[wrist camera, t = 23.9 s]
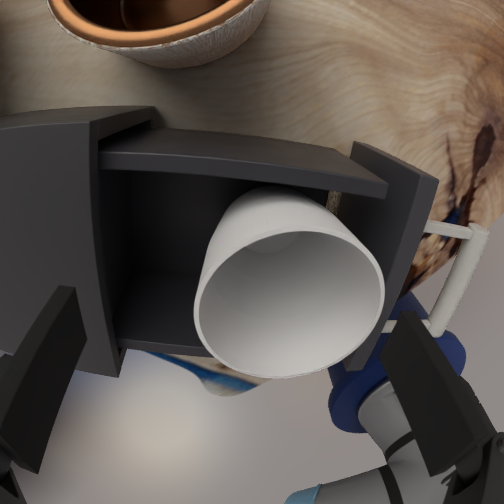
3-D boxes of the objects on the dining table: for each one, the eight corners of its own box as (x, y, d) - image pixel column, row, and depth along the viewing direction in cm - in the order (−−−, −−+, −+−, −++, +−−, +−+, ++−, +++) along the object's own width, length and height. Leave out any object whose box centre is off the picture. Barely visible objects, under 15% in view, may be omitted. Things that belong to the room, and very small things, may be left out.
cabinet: (155, 106, 19) (90, 121, 10) (151, 277, 25) (118, 378, 16) (-26, 120, 17) (-114, 154, 7) (-8, 257, 23) (-67, 324, 14)
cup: (216, 277, 23) (213, 386, 15) (198, 170, 19) (173, 240, 11) (324, 264, 23) (370, 363, 15) (323, 157, 20) (396, 216, 11)
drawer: (434, 162, 21) (511, 203, 13) (390, 294, 27) (433, 363, 19) (128, 115, 18) (65, 134, 10) (129, 275, 24) (96, 355, 16)
